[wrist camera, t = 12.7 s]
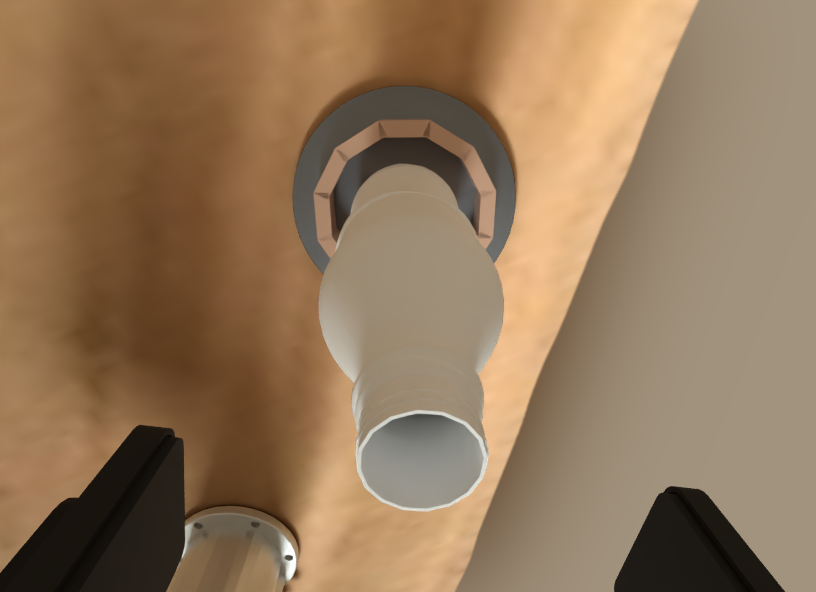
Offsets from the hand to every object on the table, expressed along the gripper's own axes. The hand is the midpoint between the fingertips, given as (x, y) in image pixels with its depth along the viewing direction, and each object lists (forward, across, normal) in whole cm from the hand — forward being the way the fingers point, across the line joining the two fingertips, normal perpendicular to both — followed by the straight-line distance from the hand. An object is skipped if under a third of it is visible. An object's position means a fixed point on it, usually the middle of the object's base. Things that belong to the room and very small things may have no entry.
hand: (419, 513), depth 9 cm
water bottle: (+26, 0, 0) cm, 27 cm away
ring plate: (+27, 0, -1) cm, 27 cm away
